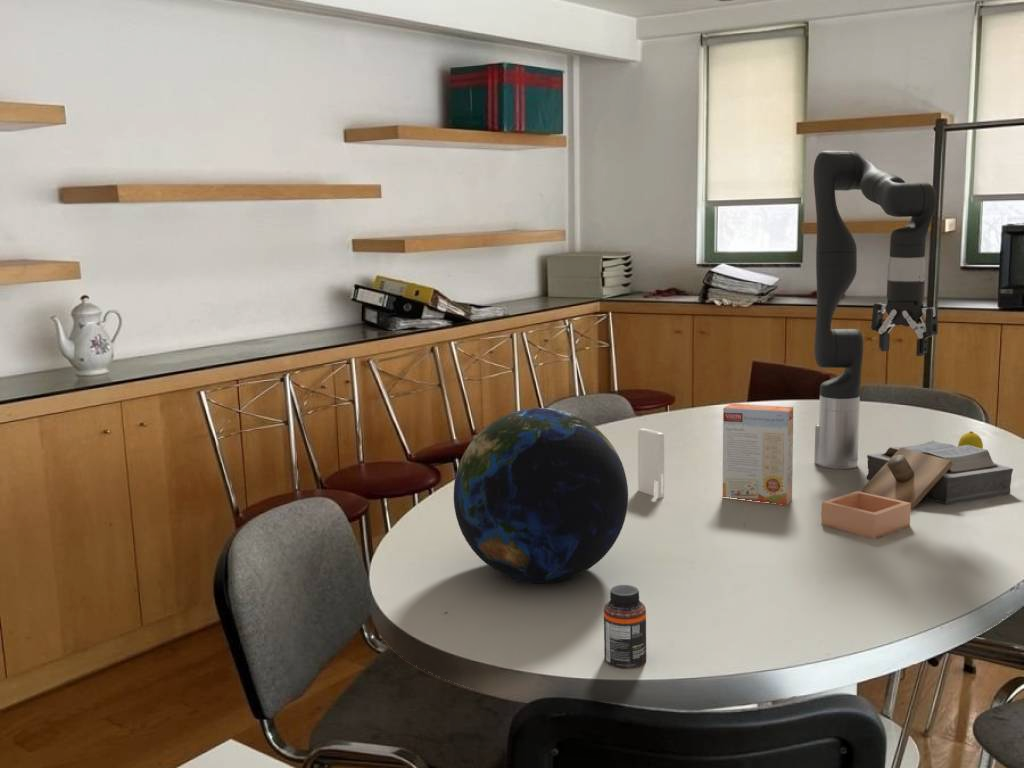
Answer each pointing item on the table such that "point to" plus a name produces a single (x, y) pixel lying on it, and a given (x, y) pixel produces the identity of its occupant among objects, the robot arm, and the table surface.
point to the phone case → (650, 461)
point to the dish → (866, 514)
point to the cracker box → (758, 452)
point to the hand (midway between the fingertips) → (902, 353)
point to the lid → (907, 476)
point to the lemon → (971, 440)
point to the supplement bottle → (625, 628)
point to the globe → (540, 495)
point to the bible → (956, 472)
